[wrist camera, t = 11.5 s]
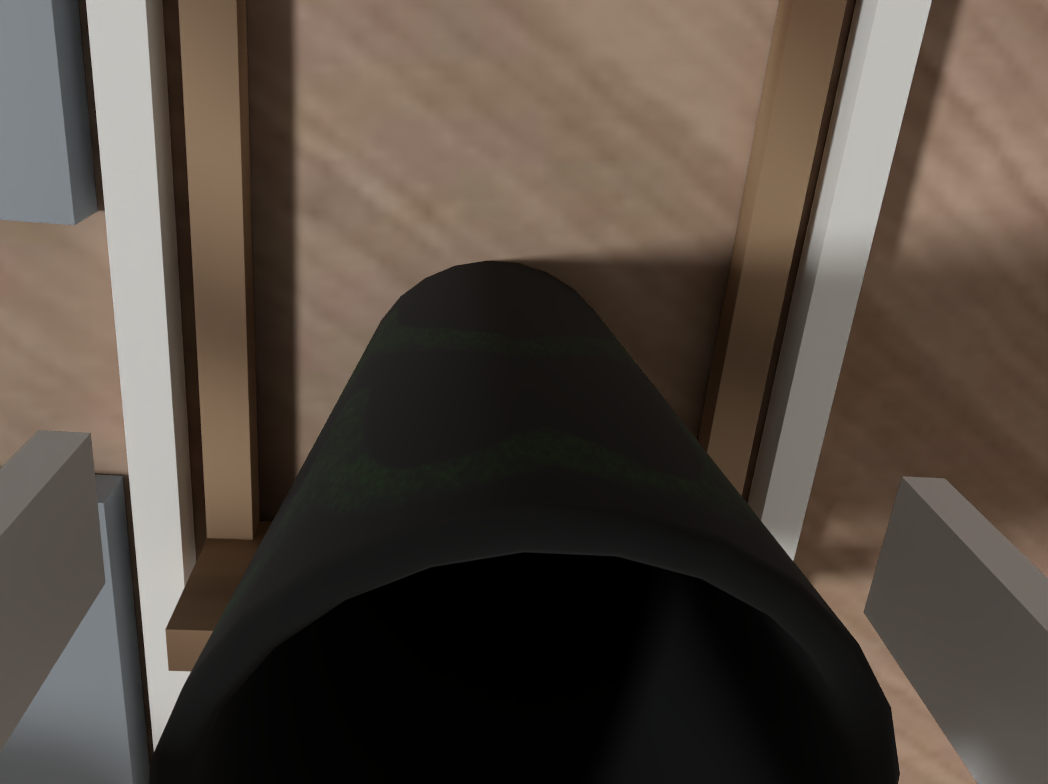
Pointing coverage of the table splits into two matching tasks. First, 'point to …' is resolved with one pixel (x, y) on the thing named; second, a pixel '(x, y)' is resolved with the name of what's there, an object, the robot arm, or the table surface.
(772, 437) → the lane frame
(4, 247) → the table surface
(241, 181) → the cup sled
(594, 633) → the cup
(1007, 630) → the robot arm
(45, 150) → the grey l-shaped sled
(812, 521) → the table surface
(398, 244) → the table surface
